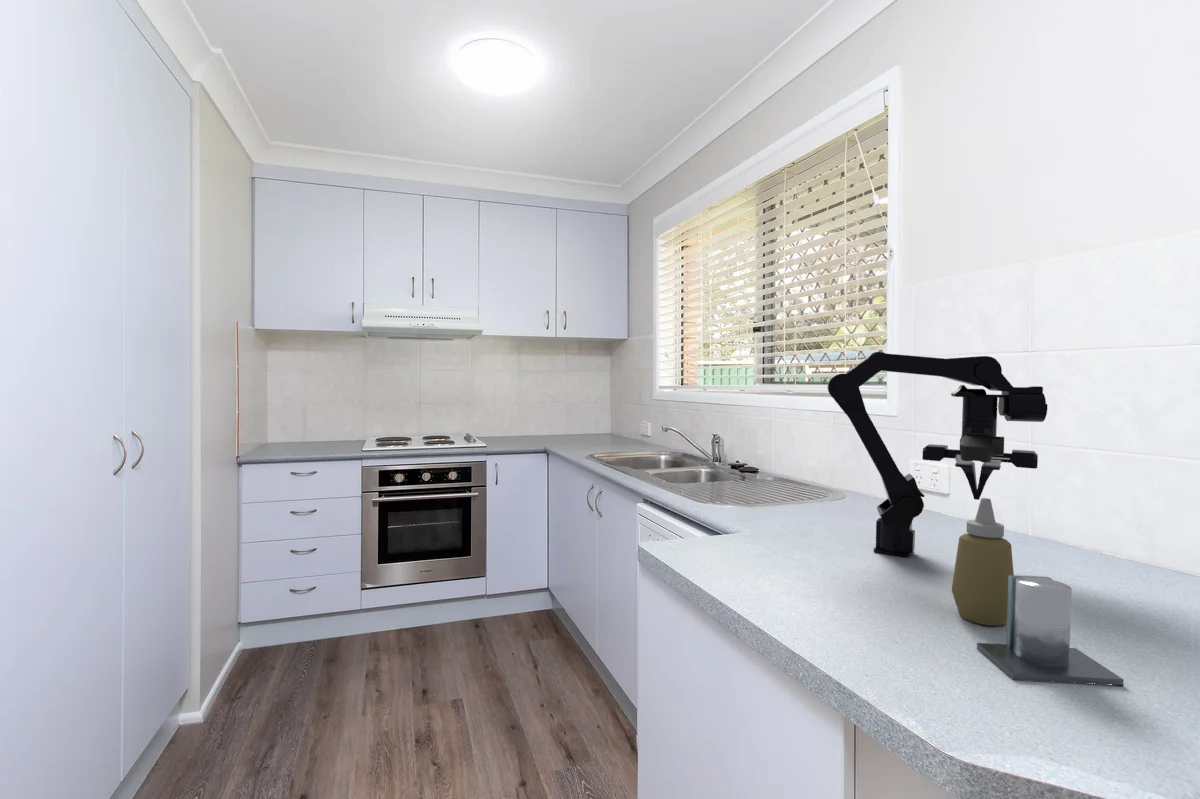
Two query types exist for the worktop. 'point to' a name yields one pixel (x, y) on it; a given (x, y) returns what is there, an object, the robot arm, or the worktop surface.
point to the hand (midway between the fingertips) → (976, 499)
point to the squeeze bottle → (983, 569)
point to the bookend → (1043, 636)
